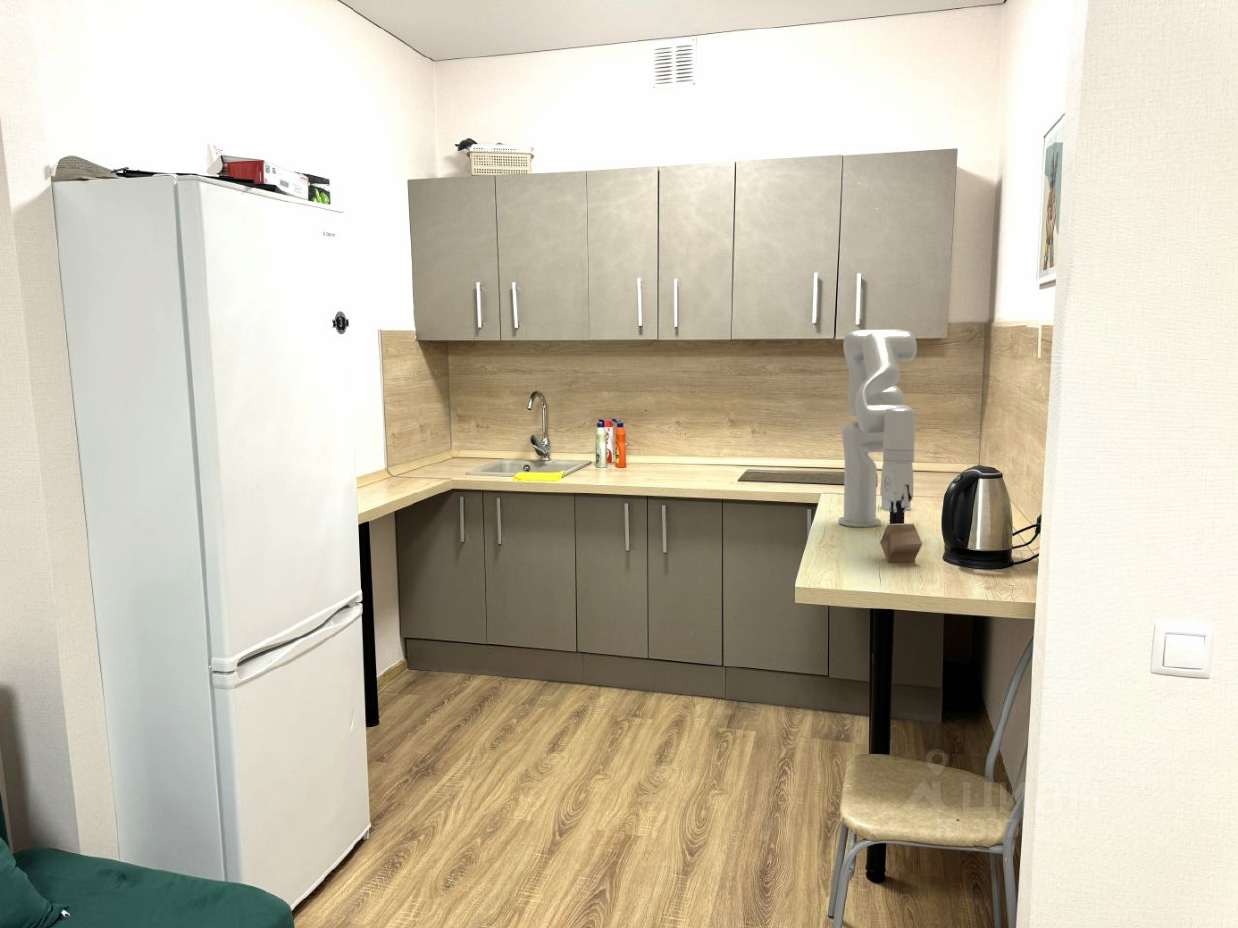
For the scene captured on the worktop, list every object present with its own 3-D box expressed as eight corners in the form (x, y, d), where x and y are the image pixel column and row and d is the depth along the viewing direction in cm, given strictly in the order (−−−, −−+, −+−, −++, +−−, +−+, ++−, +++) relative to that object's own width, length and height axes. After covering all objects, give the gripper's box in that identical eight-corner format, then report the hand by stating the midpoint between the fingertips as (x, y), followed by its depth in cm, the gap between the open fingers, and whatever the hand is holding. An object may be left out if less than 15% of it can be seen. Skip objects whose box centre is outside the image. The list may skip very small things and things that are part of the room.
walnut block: (886, 523, 223) (895, 544, 218) (913, 522, 224) (922, 543, 219) (879, 541, 228) (887, 562, 223) (905, 540, 229) (914, 561, 224)
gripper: (872, 453, 230) (871, 522, 232) (896, 460, 215) (895, 533, 218) (899, 452, 231) (898, 521, 233) (926, 459, 216) (924, 532, 219)
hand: (896, 526), depth 225 cm, fingers closed
